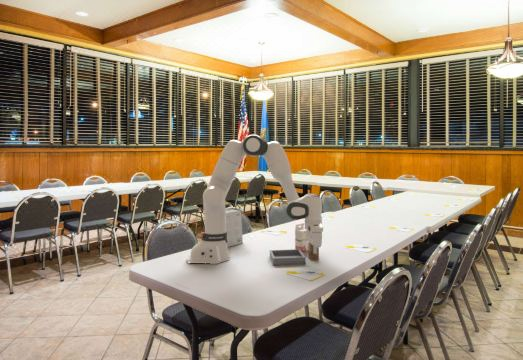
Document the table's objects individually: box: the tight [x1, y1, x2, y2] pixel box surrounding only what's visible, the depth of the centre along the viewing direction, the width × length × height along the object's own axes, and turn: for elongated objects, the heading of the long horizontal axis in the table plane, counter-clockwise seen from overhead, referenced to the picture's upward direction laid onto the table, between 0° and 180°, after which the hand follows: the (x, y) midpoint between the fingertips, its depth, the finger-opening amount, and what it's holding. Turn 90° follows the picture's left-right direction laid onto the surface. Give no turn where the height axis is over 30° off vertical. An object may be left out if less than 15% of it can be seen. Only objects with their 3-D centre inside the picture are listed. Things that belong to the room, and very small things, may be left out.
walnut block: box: [307, 243, 320, 261], centre depth 207 cm, size 4×4×8 cm
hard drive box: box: [226, 209, 244, 248], centre depth 241 cm, size 16×8×20 cm, turn 135°
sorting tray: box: [269, 248, 307, 267], centre depth 205 cm, size 16×16×4 cm
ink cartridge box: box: [294, 222, 310, 253], centre depth 225 cm, size 9×5×15 cm, turn 141°
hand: (313, 251), depth 207 cm, fingers closed on walnut block, 4 cm apart
